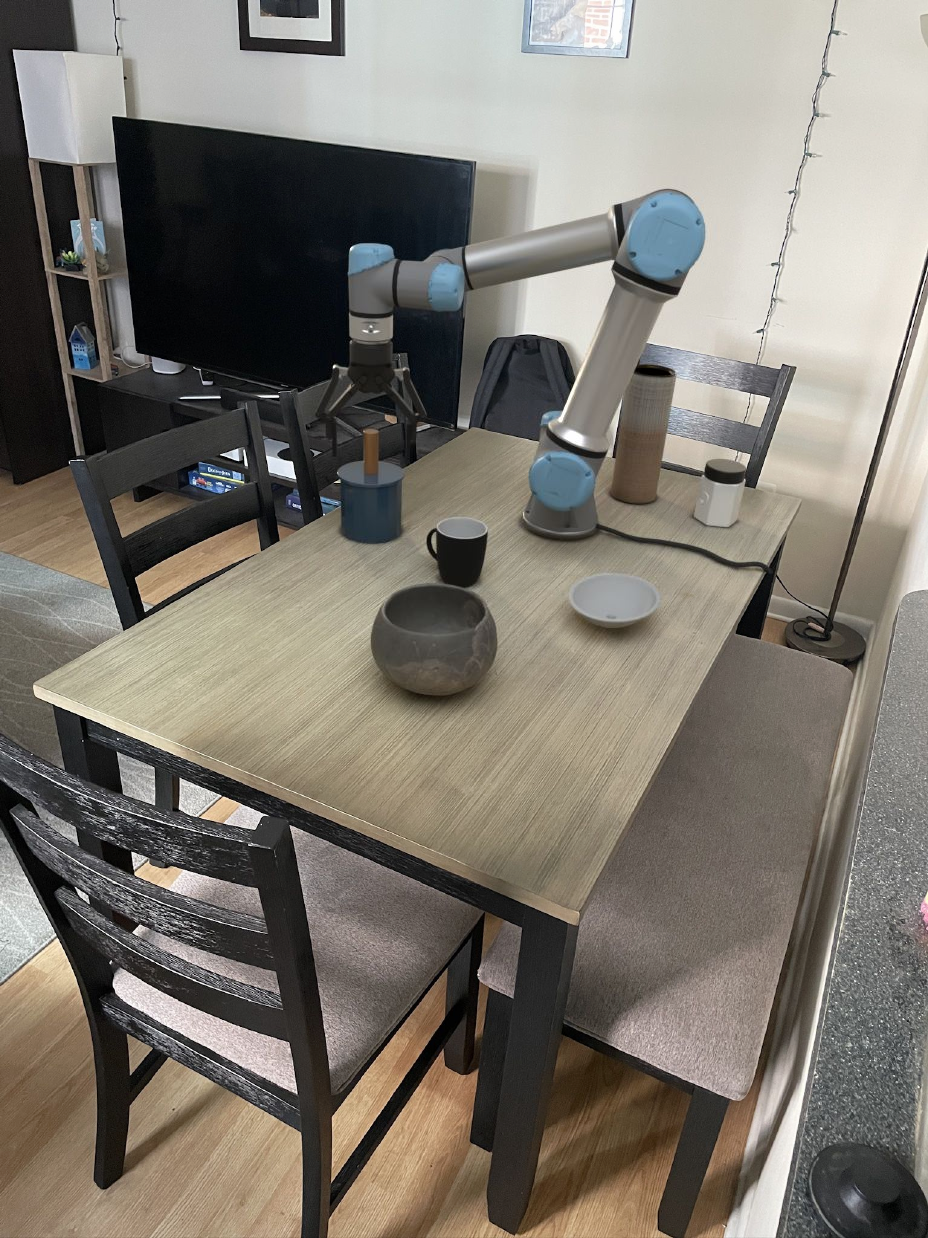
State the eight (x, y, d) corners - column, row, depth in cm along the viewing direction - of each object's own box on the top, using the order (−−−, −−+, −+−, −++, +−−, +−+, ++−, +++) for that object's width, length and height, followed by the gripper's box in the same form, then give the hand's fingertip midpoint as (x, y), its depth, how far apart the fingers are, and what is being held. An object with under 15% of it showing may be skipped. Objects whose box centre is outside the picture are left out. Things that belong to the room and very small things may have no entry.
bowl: (510, 708, 126) (517, 632, 119) (385, 726, 121) (385, 647, 115) (473, 643, 140) (478, 572, 134) (360, 656, 136) (359, 583, 129)
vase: (627, 483, 203) (646, 361, 189) (664, 497, 198) (686, 371, 184) (601, 494, 197) (618, 368, 183) (638, 508, 191) (659, 379, 177)
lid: (417, 479, 170) (419, 432, 165) (370, 496, 162) (370, 447, 157) (371, 461, 177) (371, 416, 172) (323, 477, 169) (322, 429, 164)
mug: (494, 578, 160) (498, 526, 155) (464, 596, 154) (467, 543, 148) (441, 558, 166) (443, 507, 161) (410, 574, 159) (412, 522, 154)
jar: (686, 513, 190) (696, 459, 184) (717, 508, 193) (728, 456, 187) (711, 530, 183) (723, 475, 177) (743, 525, 186) (756, 471, 180)
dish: (626, 659, 139) (631, 631, 136) (546, 628, 145) (549, 602, 143) (671, 615, 152) (676, 589, 149) (596, 589, 158) (599, 564, 156)
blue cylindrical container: (413, 531, 176) (414, 476, 170) (370, 548, 168) (370, 491, 162) (372, 513, 182) (372, 459, 176) (329, 529, 174) (327, 474, 168)
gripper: (297, 342, 152) (302, 460, 163) (443, 346, 154) (438, 463, 165) (301, 332, 158) (305, 446, 169) (441, 336, 161) (437, 449, 171)
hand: (371, 455), depth 167 cm, fingers open, 13 cm apart
